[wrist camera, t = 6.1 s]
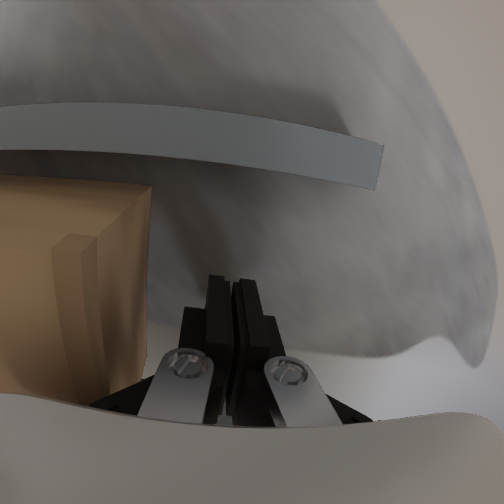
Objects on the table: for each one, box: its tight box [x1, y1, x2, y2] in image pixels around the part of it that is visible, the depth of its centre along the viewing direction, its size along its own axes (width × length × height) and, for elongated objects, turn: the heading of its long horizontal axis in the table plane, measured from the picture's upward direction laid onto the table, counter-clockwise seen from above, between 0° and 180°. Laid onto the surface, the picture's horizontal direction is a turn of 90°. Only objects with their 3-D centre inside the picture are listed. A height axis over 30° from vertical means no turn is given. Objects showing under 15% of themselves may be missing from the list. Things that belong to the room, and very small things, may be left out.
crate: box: [0, 175, 152, 406], centre depth 9 cm, size 8×8×7 cm
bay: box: [0, 102, 384, 426], centre depth 11 cm, size 14×20×2 cm
